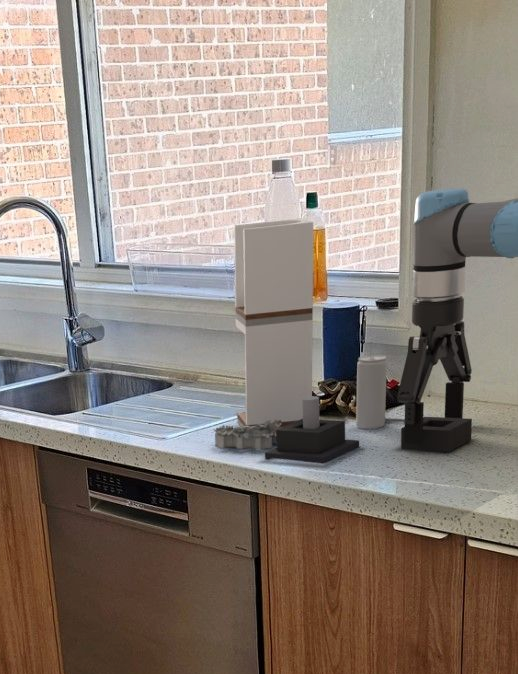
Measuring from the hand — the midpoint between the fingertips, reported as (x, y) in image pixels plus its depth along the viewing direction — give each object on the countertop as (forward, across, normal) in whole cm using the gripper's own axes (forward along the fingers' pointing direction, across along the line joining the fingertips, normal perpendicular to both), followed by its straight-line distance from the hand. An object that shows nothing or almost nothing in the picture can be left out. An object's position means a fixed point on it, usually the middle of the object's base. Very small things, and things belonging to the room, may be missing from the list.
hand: (433, 433), depth 196 cm
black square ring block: (+1, +11, -16) cm, 19 cm away
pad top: (+2, 0, 0) cm, 2 cm away
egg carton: (+2, +9, -30) cm, 31 cm away
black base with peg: (+2, +11, -16) cm, 19 cm away
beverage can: (+2, -8, -16) cm, 18 cm away
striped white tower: (+2, -4, -32) cm, 33 cm away
